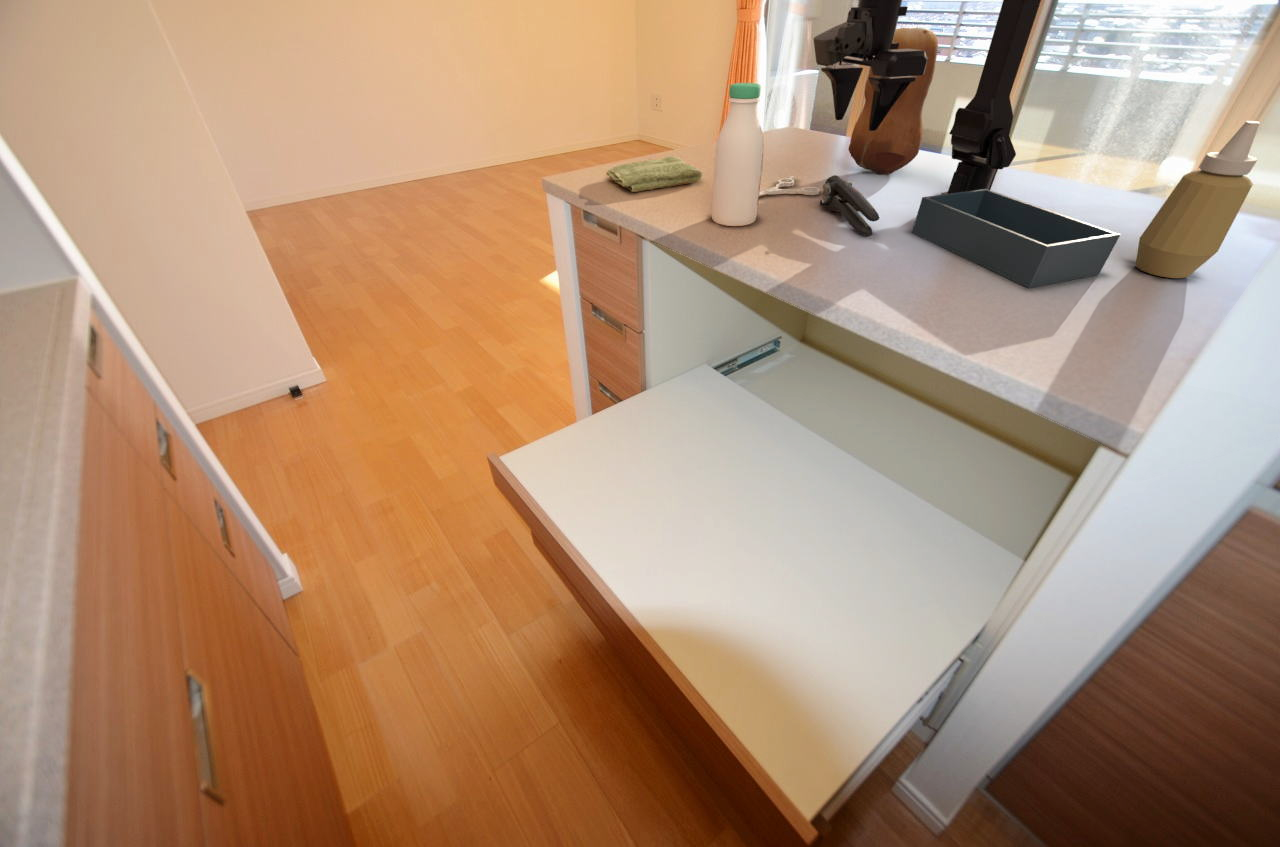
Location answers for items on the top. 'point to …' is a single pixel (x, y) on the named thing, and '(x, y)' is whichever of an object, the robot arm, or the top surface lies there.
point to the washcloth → (654, 174)
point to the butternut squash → (896, 114)
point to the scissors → (789, 183)
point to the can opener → (848, 203)
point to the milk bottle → (738, 159)
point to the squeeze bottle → (1199, 210)
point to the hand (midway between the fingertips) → (854, 125)
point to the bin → (1014, 237)
